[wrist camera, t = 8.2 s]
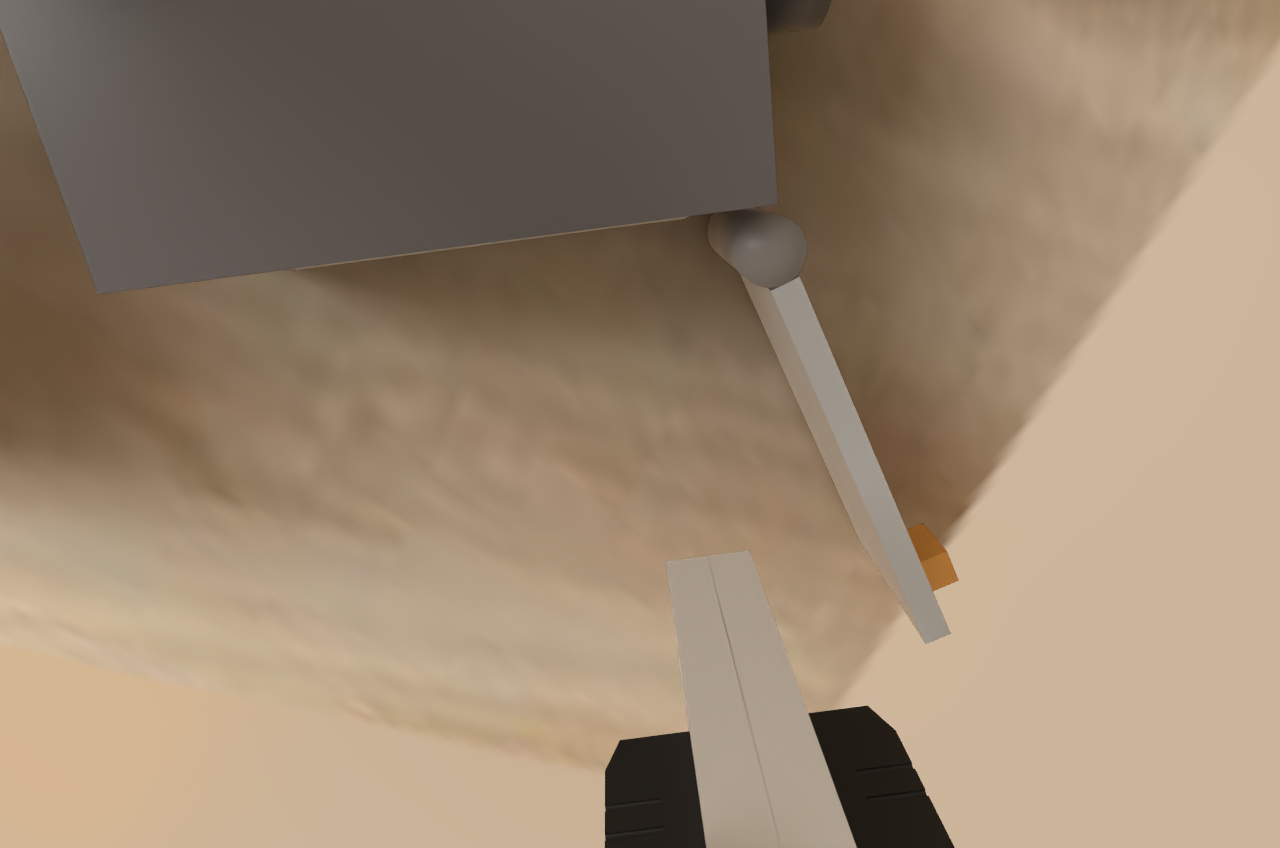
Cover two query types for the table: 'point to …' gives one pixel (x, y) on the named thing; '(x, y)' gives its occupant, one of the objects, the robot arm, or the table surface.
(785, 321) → the side door
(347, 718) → the table surface
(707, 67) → the camera body
